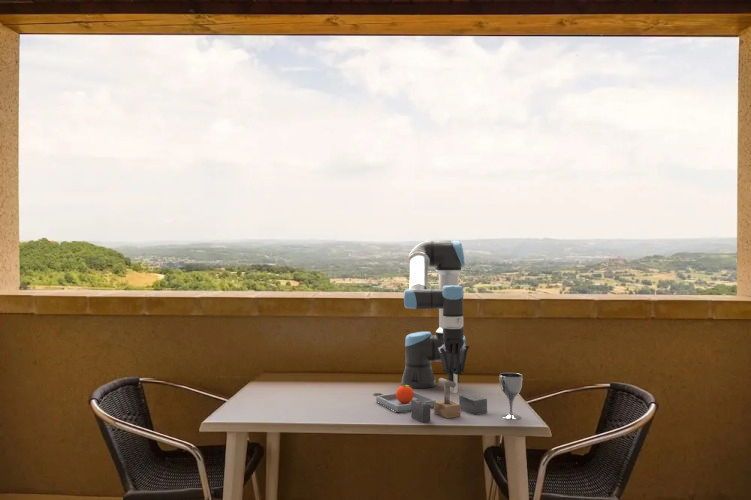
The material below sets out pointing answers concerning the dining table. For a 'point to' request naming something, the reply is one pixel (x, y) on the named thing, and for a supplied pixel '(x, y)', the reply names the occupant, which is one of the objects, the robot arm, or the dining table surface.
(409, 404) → the tray
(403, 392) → the clementine
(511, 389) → the wine glass
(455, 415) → the slider
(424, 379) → the robot arm
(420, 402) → the frame
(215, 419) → the dining table surface
